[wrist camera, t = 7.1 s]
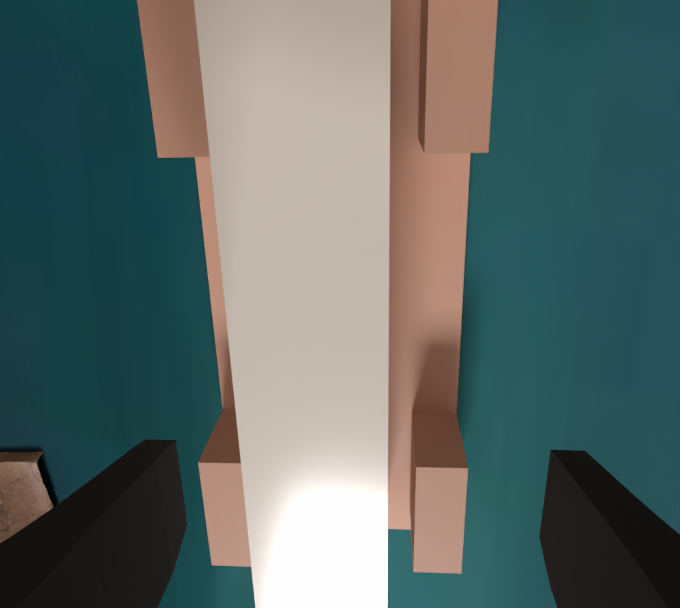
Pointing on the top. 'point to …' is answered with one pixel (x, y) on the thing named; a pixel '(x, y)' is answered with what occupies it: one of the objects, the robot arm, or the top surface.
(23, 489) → the wooden fragment
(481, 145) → the rack
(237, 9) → the strip
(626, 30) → the top surface
